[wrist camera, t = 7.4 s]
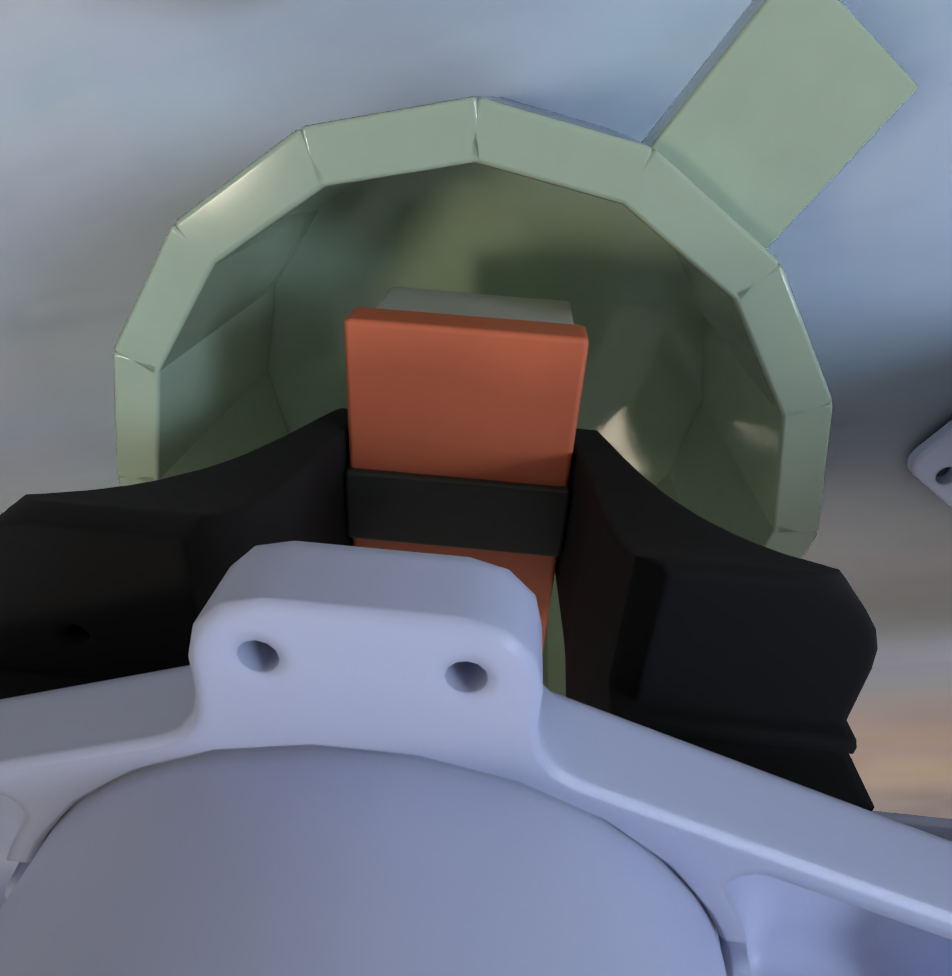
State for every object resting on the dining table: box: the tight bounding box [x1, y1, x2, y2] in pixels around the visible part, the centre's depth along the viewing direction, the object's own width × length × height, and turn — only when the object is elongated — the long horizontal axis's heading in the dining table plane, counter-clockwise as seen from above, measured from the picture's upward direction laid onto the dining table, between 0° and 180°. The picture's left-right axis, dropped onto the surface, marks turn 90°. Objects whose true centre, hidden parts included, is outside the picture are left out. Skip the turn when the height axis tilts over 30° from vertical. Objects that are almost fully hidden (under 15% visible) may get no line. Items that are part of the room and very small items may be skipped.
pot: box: [113, 0, 918, 697], centre depth 15 cm, size 13×18×6 cm
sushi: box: [344, 287, 589, 653], centre depth 13 cm, size 7×4×4 cm, turn 177°
